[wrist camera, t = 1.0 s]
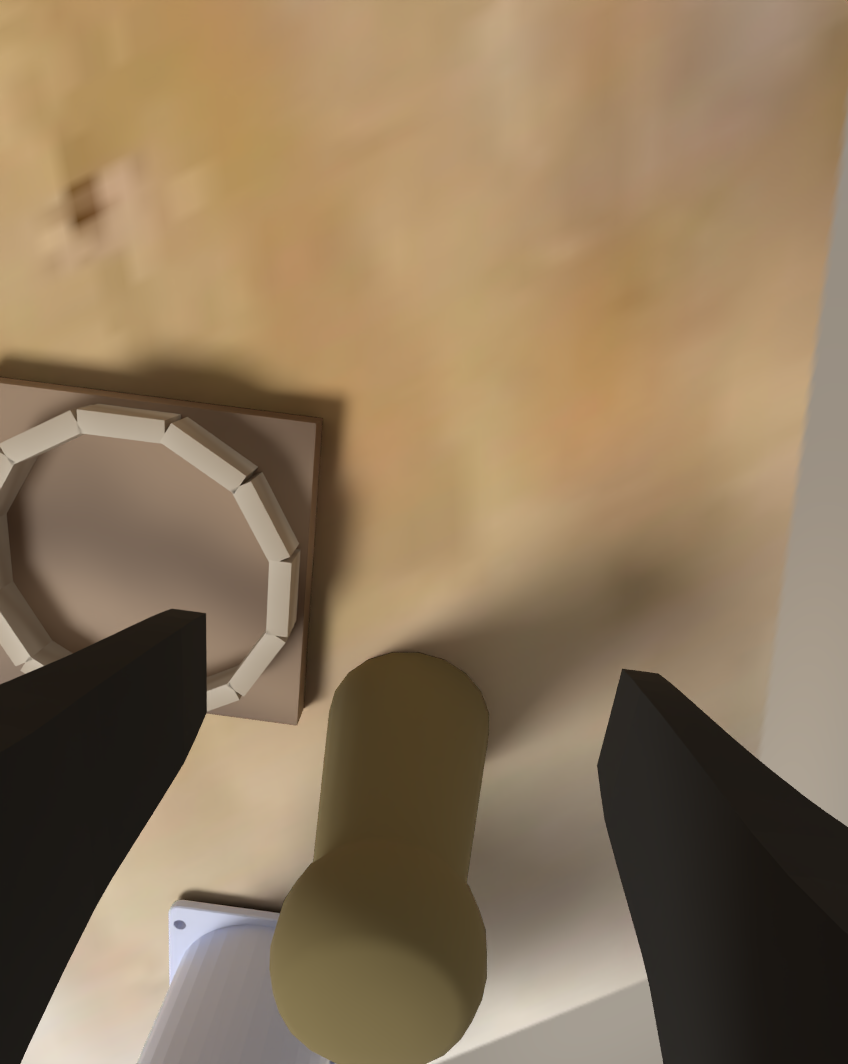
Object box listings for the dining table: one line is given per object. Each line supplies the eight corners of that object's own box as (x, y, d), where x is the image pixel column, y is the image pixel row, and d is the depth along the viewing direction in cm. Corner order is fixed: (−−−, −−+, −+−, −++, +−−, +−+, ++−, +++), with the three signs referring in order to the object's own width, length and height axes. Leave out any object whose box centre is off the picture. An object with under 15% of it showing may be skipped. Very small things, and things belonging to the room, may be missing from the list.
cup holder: (303, 709, 25) (288, 746, 23) (15, 671, 25) (-26, 704, 23) (322, 418, 21) (307, 430, 19) (-14, 375, 21) (-66, 382, 19)
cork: (501, 664, 24) (533, 944, 13) (476, 798, 26) (486, 1135, 15) (335, 640, 24) (236, 901, 13) (323, 777, 26) (228, 1097, 15)
